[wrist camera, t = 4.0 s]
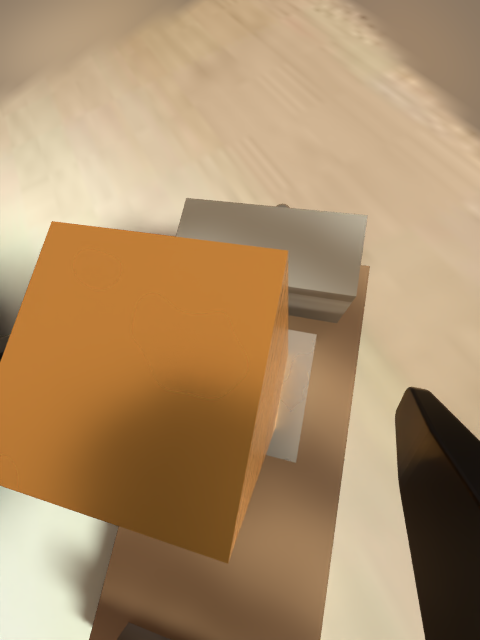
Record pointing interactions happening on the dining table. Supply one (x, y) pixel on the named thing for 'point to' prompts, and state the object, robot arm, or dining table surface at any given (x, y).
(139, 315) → the orange wooden beam
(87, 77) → the dining table surface
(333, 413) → the brown piece
